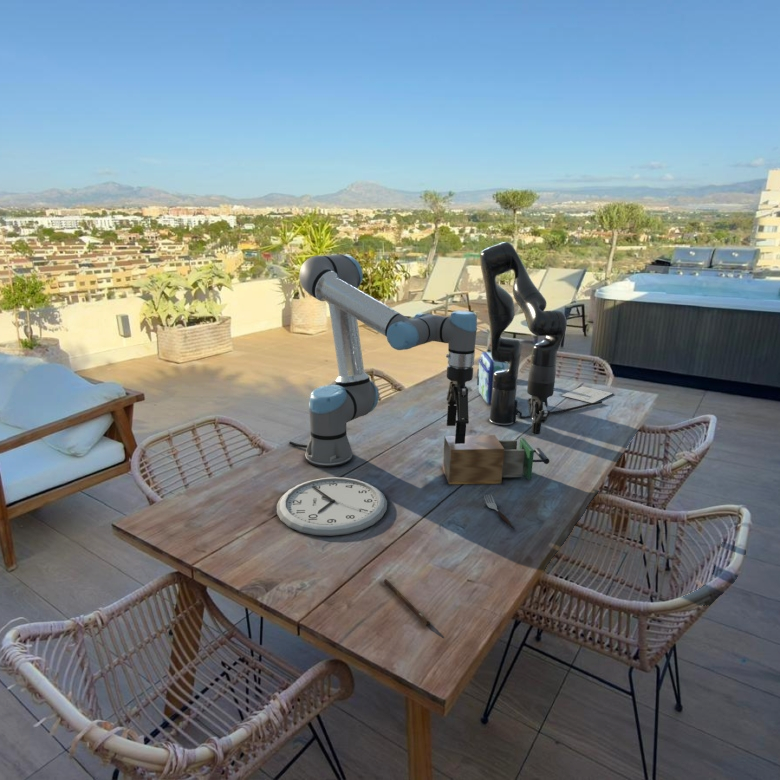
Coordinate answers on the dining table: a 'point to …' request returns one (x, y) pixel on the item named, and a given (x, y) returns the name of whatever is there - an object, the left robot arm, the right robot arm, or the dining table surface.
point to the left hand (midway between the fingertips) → (455, 434)
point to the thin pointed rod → (407, 602)
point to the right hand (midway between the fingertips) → (535, 433)
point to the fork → (494, 506)
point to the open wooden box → (473, 460)
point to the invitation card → (587, 394)
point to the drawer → (519, 458)
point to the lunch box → (488, 375)
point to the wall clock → (331, 506)
